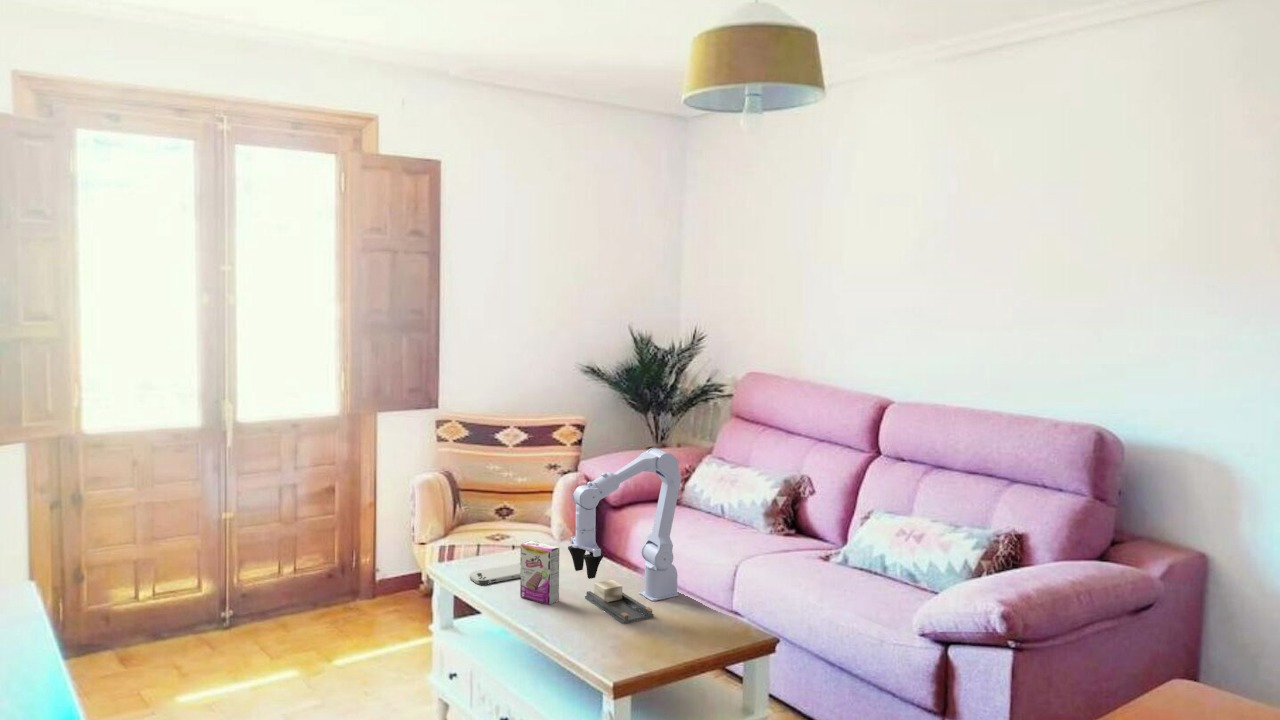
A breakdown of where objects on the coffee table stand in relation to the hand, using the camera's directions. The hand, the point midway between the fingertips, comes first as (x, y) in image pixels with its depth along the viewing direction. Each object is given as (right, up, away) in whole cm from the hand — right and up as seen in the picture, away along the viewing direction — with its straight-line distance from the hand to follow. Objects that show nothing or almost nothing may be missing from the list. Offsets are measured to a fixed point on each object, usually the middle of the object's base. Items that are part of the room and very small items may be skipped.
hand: (585, 574), depth 259 cm
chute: (+10, -10, +1) cm, 14 cm away
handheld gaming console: (-26, -7, +26) cm, 38 cm away
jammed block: (+6, -8, +6) cm, 12 cm away
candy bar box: (-14, -9, +6) cm, 18 cm away
